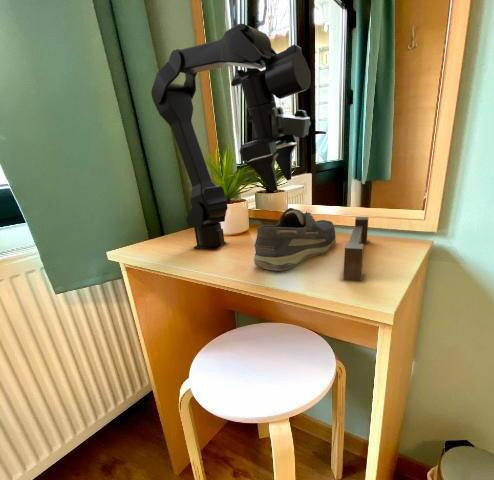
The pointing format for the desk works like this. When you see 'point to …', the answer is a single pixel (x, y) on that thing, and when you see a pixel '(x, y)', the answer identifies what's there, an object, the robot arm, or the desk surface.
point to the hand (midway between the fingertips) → (282, 185)
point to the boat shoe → (292, 240)
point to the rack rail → (355, 250)
